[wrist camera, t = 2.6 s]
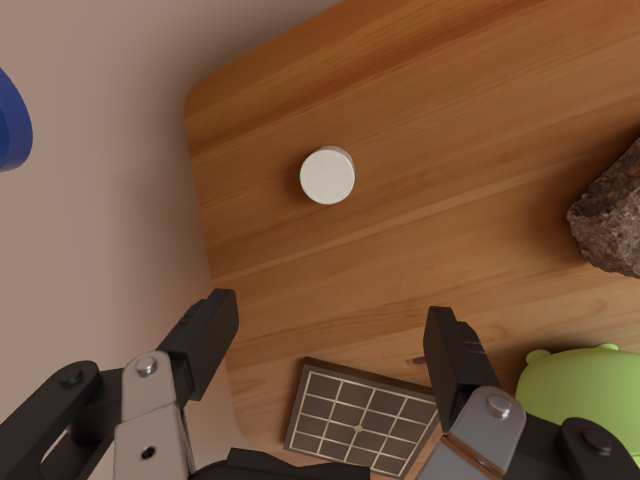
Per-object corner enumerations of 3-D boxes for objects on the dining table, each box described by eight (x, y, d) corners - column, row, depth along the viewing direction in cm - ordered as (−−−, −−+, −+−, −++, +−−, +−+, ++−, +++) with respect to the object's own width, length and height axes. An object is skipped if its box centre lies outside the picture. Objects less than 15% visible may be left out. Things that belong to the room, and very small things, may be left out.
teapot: (694, 316, 29) (905, 457, 18) (669, 411, 34) (821, 567, 23) (470, 339, 33) (524, 464, 22) (477, 420, 39) (525, 554, 27)
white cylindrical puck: (300, 190, 29) (295, 197, 27) (309, 140, 27) (304, 144, 24) (348, 201, 29) (347, 209, 26) (361, 151, 26) (360, 156, 24)
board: (284, 440, 46) (282, 450, 45) (305, 356, 38) (304, 364, 37) (402, 471, 45) (403, 481, 44) (448, 392, 37) (451, 402, 36)
